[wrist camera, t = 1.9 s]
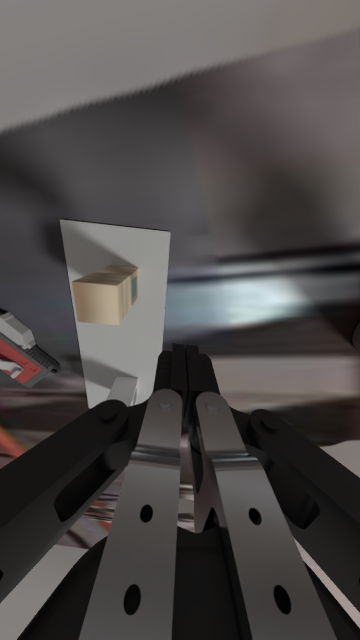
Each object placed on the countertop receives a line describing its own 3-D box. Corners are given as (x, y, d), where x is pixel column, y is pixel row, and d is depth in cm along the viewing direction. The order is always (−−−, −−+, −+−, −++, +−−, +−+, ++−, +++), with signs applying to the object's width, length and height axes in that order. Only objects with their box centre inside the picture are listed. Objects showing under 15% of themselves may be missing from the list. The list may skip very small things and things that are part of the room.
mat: (170, 232, 24) (170, 232, 23) (157, 411, 38) (157, 412, 38) (61, 219, 23) (59, 219, 23) (89, 406, 37) (88, 408, 37)
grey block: (138, 377, 34) (123, 429, 25) (138, 393, 35) (124, 447, 26) (116, 376, 33) (93, 428, 24) (117, 392, 35) (96, 446, 26)
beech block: (139, 268, 25) (117, 286, 16) (139, 295, 27) (119, 325, 18) (110, 265, 25) (71, 281, 16) (111, 292, 27) (77, 321, 18)
